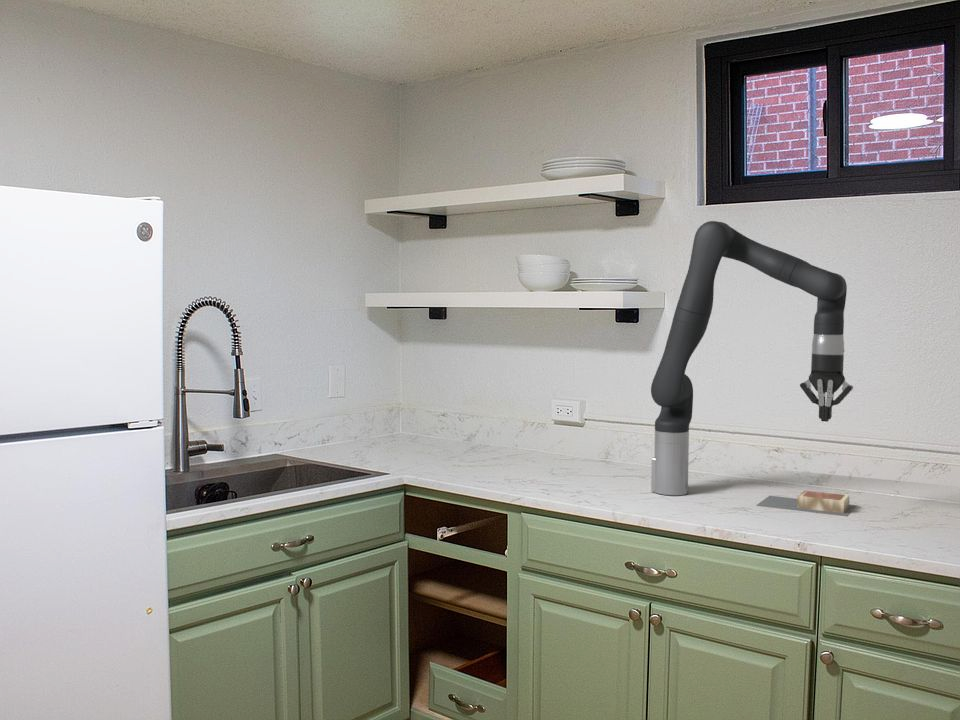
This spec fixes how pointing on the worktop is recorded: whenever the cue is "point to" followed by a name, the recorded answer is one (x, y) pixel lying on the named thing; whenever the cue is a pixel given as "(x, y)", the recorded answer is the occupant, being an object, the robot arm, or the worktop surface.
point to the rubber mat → (792, 505)
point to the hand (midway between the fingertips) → (825, 421)
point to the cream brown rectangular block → (823, 501)
